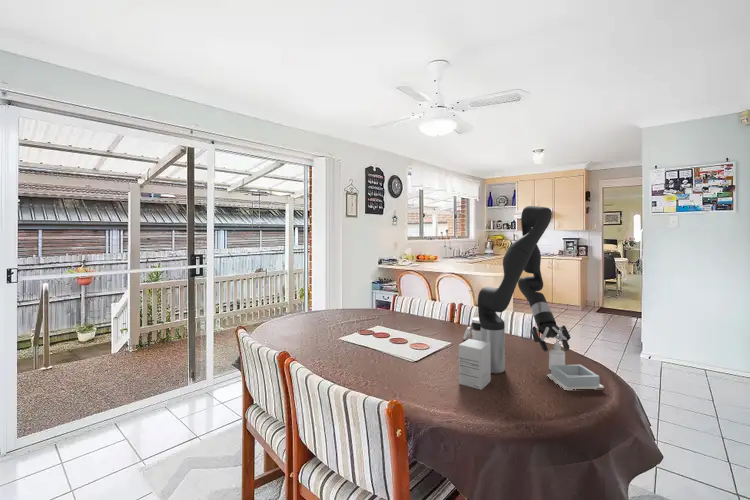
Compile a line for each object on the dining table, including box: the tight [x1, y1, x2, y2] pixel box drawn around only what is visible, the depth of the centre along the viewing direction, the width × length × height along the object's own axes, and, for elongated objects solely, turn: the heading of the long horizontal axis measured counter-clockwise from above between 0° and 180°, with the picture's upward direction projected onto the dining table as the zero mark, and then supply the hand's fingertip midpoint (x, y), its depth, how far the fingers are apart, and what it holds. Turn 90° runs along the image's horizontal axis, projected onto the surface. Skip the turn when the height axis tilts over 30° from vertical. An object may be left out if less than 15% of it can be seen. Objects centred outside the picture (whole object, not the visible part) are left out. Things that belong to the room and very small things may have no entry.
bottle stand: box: [546, 363, 605, 391], centre depth 135 cm, size 14×12×4 cm
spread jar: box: [463, 316, 481, 341], centre depth 185 cm, size 12×11×12 cm
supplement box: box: [458, 338, 492, 391], centre depth 136 cm, size 9×9×15 cm
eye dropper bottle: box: [548, 339, 566, 371], centre depth 147 cm, size 4×6×12 cm
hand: (556, 350), depth 147 cm, fingers open, 8 cm apart
